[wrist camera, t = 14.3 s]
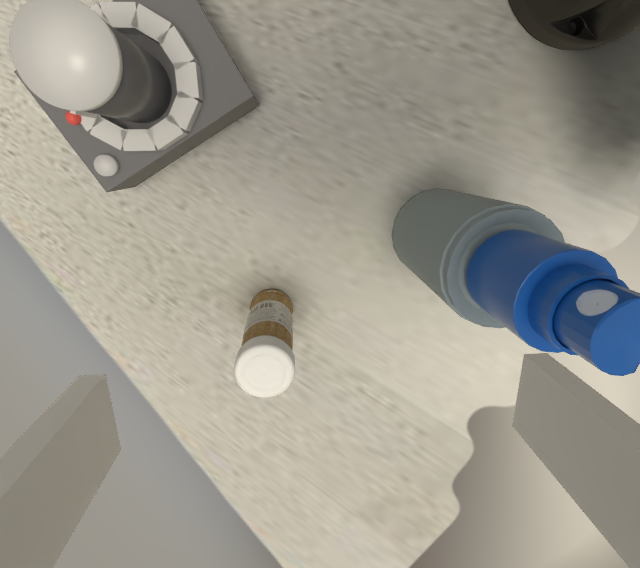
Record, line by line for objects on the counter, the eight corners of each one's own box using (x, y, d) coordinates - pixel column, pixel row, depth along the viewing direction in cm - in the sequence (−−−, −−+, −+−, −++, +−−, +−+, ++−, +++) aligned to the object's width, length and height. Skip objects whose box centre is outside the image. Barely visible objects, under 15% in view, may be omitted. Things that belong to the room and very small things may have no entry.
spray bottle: (375, 225, 40) (498, 325, 16) (447, 169, 39) (695, 190, 15) (421, 290, 43) (587, 457, 19) (491, 239, 41) (761, 350, 18)
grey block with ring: (192, -8, 33) (162, -58, 25) (259, 105, 36) (250, 91, 28) (59, 85, 34) (-7, 65, 27) (134, 186, 37) (94, 194, 30)
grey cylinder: (105, 37, 28) (12, -22, 19) (178, 61, 29) (124, 15, 20) (96, 115, 30) (6, 95, 20) (166, 135, 31) (111, 125, 21)
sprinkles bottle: (252, 329, 43) (236, 402, 30) (248, 289, 41) (229, 348, 28) (295, 325, 43) (297, 397, 30) (291, 285, 41) (292, 343, 29)
